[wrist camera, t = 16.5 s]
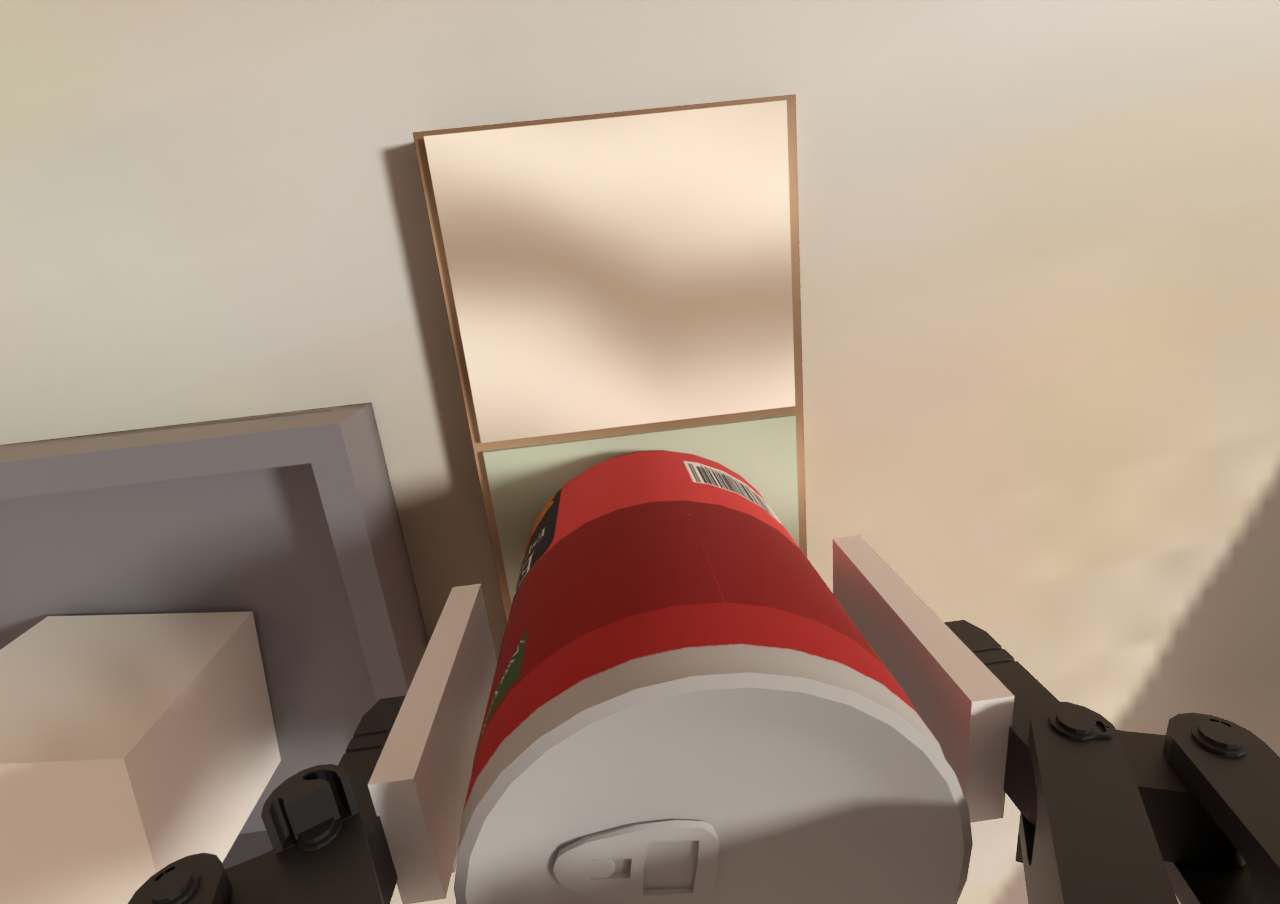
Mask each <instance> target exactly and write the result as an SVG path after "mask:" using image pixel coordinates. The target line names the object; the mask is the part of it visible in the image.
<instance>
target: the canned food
mask: <svg viewBox="0 0 1280 904" xmlns="http://www.w3.org/2000/svg"><path fill="white" fill-rule="evenodd" d="M971 850H972V835H971V825H970V815H969V807H968V805H967V802H966V799H965V797H964V794H963V792H962V789H961V787H960V784H959V782H958V779H957V777H956V774H955V772H954V771H953V769H952V768H951V766H950V765H949V764H948V762H947V761H946V759H945V757H944V754H943V752H942V749H941V747H940V744H939V742H938V741H937V739H936V738H935V737H934V735H933V734H932V732H931V731H930V730H929V728H928V727H927V725H926V724H925V723H924V721H923V720H922V718H921V717H920V716H919V714H918V713H917V711H916V710H915V709H914V707H913V705H912V704H911V702H910V700H909V699H908V697H907V695H906V694H905V692H904V691H903V690H902V688H901V687H900V686H899V684H898V683H897V681H896V680H895V679H894V677H893V676H892V675H891V673H890V672H889V670H888V669H887V668H886V666H885V665H884V664H883V662H882V661H881V659H880V658H879V657H878V655H877V654H876V653H875V651H874V650H873V648H872V647H871V646H870V644H869V643H868V642H867V640H866V639H865V637H864V636H863V635H862V633H861V632H860V631H859V629H858V628H857V626H856V625H855V624H854V622H853V621H852V620H851V618H850V617H849V615H848V614H847V613H846V611H845V610H844V609H843V607H842V606H841V604H840V603H839V602H838V600H837V599H836V598H835V596H834V595H833V593H832V592H831V591H830V589H829V588H828V587H827V585H826V584H825V582H824V581H823V580H822V578H821V577H820V576H819V574H818V573H817V571H816V570H815V569H814V567H813V566H812V565H811V563H810V562H809V560H808V559H807V558H806V556H805V555H804V554H803V552H802V551H801V549H800V548H799V547H798V545H797V544H796V543H795V541H794V540H793V538H792V537H791V536H790V534H789V533H788V532H787V530H786V529H785V527H784V526H783V525H782V523H781V522H780V521H779V519H778V518H777V516H776V515H775V514H774V512H773V511H772V510H771V508H770V507H769V505H768V504H767V503H766V501H765V500H764V499H763V497H762V496H761V495H760V493H759V492H758V491H757V490H756V489H755V488H754V487H753V486H752V485H750V484H749V483H748V482H747V481H746V480H745V479H744V478H742V477H741V476H740V475H739V474H737V473H735V472H733V471H732V470H730V469H728V468H726V467H725V466H723V465H721V464H719V463H718V462H715V461H712V460H709V459H706V458H703V457H700V456H697V455H694V454H688V453H680V452H673V451H666V450H654V451H637V452H633V453H628V454H624V455H619V456H615V457H613V458H610V459H608V460H606V461H603V462H601V463H599V464H596V465H594V466H592V467H590V468H588V469H586V470H585V471H583V472H582V473H580V474H579V475H578V476H576V477H575V478H573V479H572V480H570V481H569V482H567V483H566V484H565V485H564V486H563V487H562V488H561V489H560V490H559V491H558V492H557V493H556V494H555V495H554V496H553V497H552V498H551V499H550V500H549V501H548V502H547V504H546V506H545V507H544V509H543V510H542V512H541V513H540V515H539V516H538V518H537V519H536V521H535V523H534V526H533V528H532V531H531V534H530V536H529V539H528V542H527V545H526V549H525V553H524V557H523V561H522V565H521V569H520V573H519V577H518V582H517V586H516V590H515V594H514V598H513V602H512V606H511V610H510V614H509V618H508V622H507V626H506V630H505V634H504V638H503V642H502V647H501V651H500V655H499V659H498V663H497V667H496V671H495V675H494V679H493V683H492V687H491V691H490V695H489V699H488V703H487V707H486V712H485V716H484V720H483V724H482V728H481V732H480V736H479V740H478V744H477V748H476V752H475V756H474V760H473V768H472V775H471V779H470V783H469V787H468V792H467V796H466V800H465V804H464V808H463V813H462V818H461V827H460V835H459V844H458V852H457V855H458V858H457V867H456V875H455V884H454V891H455V897H456V903H457V904H957V901H958V899H959V897H960V894H961V892H962V890H963V887H964V885H965V882H966V880H967V874H968V868H969V862H970V856H971Z"/></svg>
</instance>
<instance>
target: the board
mask: <svg viewBox="0 0 1280 904" xmlns="http://www.w3.org/2000/svg"><path fill="white" fill-rule="evenodd" d="M413 137H414V142H415V148H416V153H417V158H418V163H419V168H420V174H421V179H422V184H423V189H424V194H425V200H426V205H427V210H428V215H429V220H430V226H431V231H432V236H433V241H434V246H435V252H436V257H437V262H438V267H439V272H440V278H441V283H442V288H443V293H444V298H445V304H446V309H447V314H448V319H449V324H450V330H451V335H452V340H453V345H454V350H455V356H456V361H457V366H458V371H459V376H460V382H461V387H462V392H463V397H464V402H465V408H466V413H467V418H468V423H469V428H470V434H471V439H472V444H473V449H474V454H475V460H476V465H477V470H478V475H479V480H480V486H481V491H482V496H483V501H484V507H485V512H486V517H487V522H488V527H489V533H490V538H491V543H492V548H493V553H494V559H495V564H496V569H497V574H498V579H499V585H500V590H501V595H502V600H503V605H504V611H505V616H506V621H507V622H508V618H509V614H510V610H511V606H512V602H513V598H514V594H515V590H516V586H517V582H518V577H519V573H520V569H521V565H522V561H523V557H524V553H525V549H526V545H527V542H528V539H529V536H530V534H531V531H532V528H533V526H534V523H535V521H536V519H537V518H538V516H539V515H540V513H541V512H542V510H543V509H544V507H545V506H546V504H547V502H548V501H549V500H550V499H551V498H552V497H553V496H554V495H555V494H556V493H557V492H558V491H559V490H560V489H561V488H562V487H563V486H564V485H565V484H566V483H567V482H569V481H570V480H572V479H573V478H575V477H576V476H578V475H579V474H580V473H582V472H583V471H585V470H586V469H588V468H590V467H592V466H594V465H596V464H599V463H601V462H603V461H606V460H608V459H610V458H613V457H615V456H619V455H624V454H628V453H633V452H637V451H654V450H666V451H673V452H680V453H688V454H694V455H697V456H700V457H703V458H706V459H709V460H712V461H715V462H718V463H719V464H721V465H723V466H725V467H726V468H728V469H730V470H732V471H733V472H735V473H737V474H739V475H740V476H741V477H742V478H744V479H745V480H746V481H747V482H748V483H749V484H750V485H752V486H753V487H754V488H755V489H756V490H757V491H758V492H759V493H760V495H761V496H762V497H763V499H764V500H765V501H766V503H767V504H768V505H769V507H770V508H771V510H772V511H773V512H774V514H775V515H776V516H777V518H778V519H779V521H780V522H781V523H782V525H783V526H784V527H785V529H786V530H787V532H788V533H789V534H790V536H791V537H792V538H793V540H794V541H795V543H796V544H797V545H798V547H799V548H800V549H801V551H802V552H803V554H804V555H805V556H806V558H807V544H806V503H805V462H804V421H803V380H802V340H801V299H800V258H799V217H798V176H797V135H796V95H785V96H775V97H765V98H755V99H745V100H735V101H725V102H715V103H705V104H695V105H685V106H675V107H664V108H654V109H644V110H634V111H624V112H614V113H604V114H594V115H584V116H574V117H564V118H554V119H544V120H534V121H524V122H513V123H503V124H493V125H483V126H473V127H463V128H453V129H443V130H433V131H423V132H413Z"/></svg>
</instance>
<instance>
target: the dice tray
mask: <svg viewBox="0 0 1280 904" xmlns="http://www.w3.org/2000/svg"><path fill="white" fill-rule="evenodd" d="M249 611H253V615H254V621H255V626H256V631H257V637H258V642H259V647H260V652H261V658H262V663H263V668H264V673H265V679H266V684H267V689H268V694H269V700H270V705H271V710H272V716H273V721H274V726H275V731H276V737H277V742H278V747H279V752H280V758H281V761H280V763H279V765H278V766H277V768H276V770H275V772H274V773H273V775H272V777H271V779H270V780H269V782H268V784H267V786H266V787H265V789H264V791H263V793H262V794H261V796H260V798H259V800H258V801H257V803H256V805H255V807H254V808H253V810H252V812H251V814H250V815H249V817H248V819H247V821H246V822H245V824H244V826H243V828H242V829H241V831H240V833H239V835H238V836H237V838H236V840H235V842H234V843H233V845H232V847H231V849H230V850H229V852H228V854H227V856H226V857H225V859H224V861H223V863H222V864H223V866H224V868H225V869H227V868H230V867H232V866H235V865H237V864H240V863H242V862H245V861H247V860H250V859H252V858H255V857H257V856H260V855H262V854H264V853H267V852H269V851H271V850H273V847H272V845H271V842H270V839H269V836H268V834H267V831H266V828H265V826H264V823H263V820H262V817H261V813H262V809H263V805H264V803H265V801H266V800H267V799H268V797H269V796H270V794H271V793H272V791H273V790H275V789H276V788H277V787H278V786H279V785H280V784H281V783H283V782H284V781H285V780H286V779H288V778H289V777H291V776H293V775H295V774H296V773H298V772H300V771H302V770H304V769H307V768H310V767H313V766H316V765H324V764H334V765H337V766H338V764H339V762H340V760H341V758H342V756H343V754H345V753H346V748H347V746H348V744H349V742H350V740H351V739H353V734H354V733H355V731H356V729H357V727H358V725H359V723H360V721H361V719H362V717H363V716H364V715H365V714H366V713H367V712H368V711H369V710H370V709H371V708H372V707H373V706H374V705H375V704H376V703H377V702H378V701H379V700H380V699H383V698H390V697H398V696H406V694H407V692H408V690H409V688H410V685H411V683H412V681H413V678H414V676H415V674H416V671H417V669H418V667H419V664H420V662H421V660H422V657H423V655H424V653H425V650H426V648H427V646H428V638H427V634H426V630H425V626H424V622H423V617H422V613H421V609H420V605H419V601H418V596H417V592H416V588H415V584H414V580H413V576H412V571H411V567H410V563H409V559H408V555H407V550H406V546H405V542H404V538H403V534H402V529H401V525H400V521H399V517H398V513H397V508H396V504H395V500H394V496H393V492H392V487H391V483H390V479H389V475H388V471H387V467H386V462H385V458H384V454H383V450H382V446H381V441H380V437H379V433H378V429H377V425H376V420H375V416H374V412H373V408H372V404H371V403H363V404H355V405H346V406H337V407H329V408H320V409H311V410H302V411H294V412H285V413H276V414H268V415H259V416H250V417H242V418H233V419H224V420H215V421H207V422H198V423H189V424H181V425H172V426H163V427H155V428H146V429H137V430H128V431H120V432H111V433H102V434H94V435H85V436H76V437H68V438H59V439H50V440H41V441H33V442H24V443H15V444H7V445H0V650H1V649H2V648H4V647H5V646H6V645H8V644H9V643H11V642H12V641H14V640H15V639H16V638H18V637H19V636H21V635H22V634H23V633H25V632H26V631H28V630H29V629H31V628H32V627H33V626H35V625H36V624H38V623H39V622H40V621H42V620H43V619H45V618H46V617H47V616H83V615H124V614H166V613H208V612H249ZM458 844H459V842H458ZM457 852H458V847H457V851H456V855H455V860H454V864H453V868H452V873H453V872H455V868H456V864H457V858H458V855H457Z"/></svg>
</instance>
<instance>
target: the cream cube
mask: <svg viewBox="0 0 1280 904" xmlns="http://www.w3.org/2000/svg"><path fill="white" fill-rule="evenodd" d="M280 761H281V758H280V752H279V747H278V742H277V737H276V731H275V726H274V721H273V716H272V710H271V705H270V700H269V694H268V689H267V684H266V679H265V673H264V668H263V663H262V658H261V652H260V647H259V642H258V637H257V631H256V626H255V621H254V615H253V611H249V612H208V613H166V614H124V615H83V616H47V617H46V618H45V619H43V620H42V621H40V622H39V623H38V624H36V625H35V626H33V627H32V628H31V629H29V630H28V631H26V632H25V633H23V634H22V635H21V636H19V637H18V638H16V639H15V640H14V641H12V642H11V643H9V644H8V645H6V646H5V647H4V648H2V649H1V650H0V904H128V902H129V901H130V899H131V898H132V896H133V895H134V893H135V892H136V891H137V890H138V889H139V888H140V887H141V886H142V885H143V884H144V883H145V882H146V881H147V880H148V879H149V878H150V877H151V876H153V875H154V874H156V873H157V872H158V871H160V870H161V869H163V868H164V867H166V866H167V865H169V864H170V863H173V862H175V861H177V860H179V859H182V858H184V857H186V856H189V855H194V854H199V853H209V854H214V855H217V857H218V858H219V859H220V861H221V862H222V863H223V861H224V859H225V857H226V856H227V854H228V852H229V850H230V849H231V847H232V845H233V843H234V842H235V840H236V838H237V836H238V835H239V833H240V831H241V829H242V828H243V826H244V824H245V822H246V821H247V819H248V817H249V815H250V814H251V812H252V810H253V808H254V807H255V805H256V803H257V801H258V800H259V798H260V796H261V794H262V793H263V791H264V789H265V787H266V786H267V784H268V782H269V780H270V779H271V777H272V775H273V773H274V772H275V770H276V768H277V766H278V765H279V763H280Z"/></svg>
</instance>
